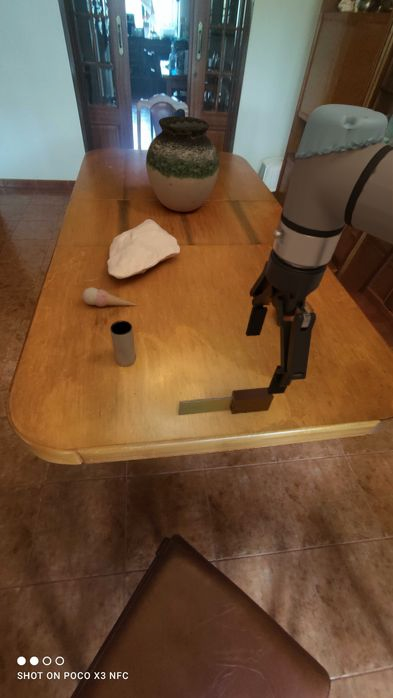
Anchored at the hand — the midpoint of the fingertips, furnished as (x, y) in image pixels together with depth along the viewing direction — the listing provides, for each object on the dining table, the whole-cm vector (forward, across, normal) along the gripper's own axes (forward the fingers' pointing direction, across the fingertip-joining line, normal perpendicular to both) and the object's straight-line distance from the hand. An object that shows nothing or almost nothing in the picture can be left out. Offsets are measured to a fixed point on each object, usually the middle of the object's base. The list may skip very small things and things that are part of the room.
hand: (263, 361), depth 57 cm
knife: (+15, 0, -5) cm, 16 cm away
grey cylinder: (+15, -16, -25) cm, 34 cm away
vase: (+16, -101, -1) cm, 102 cm away
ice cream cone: (+15, -37, -29) cm, 50 cm away
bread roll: (+15, -27, +21) cm, 37 cm away
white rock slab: (+16, -59, -19) cm, 64 cm away
